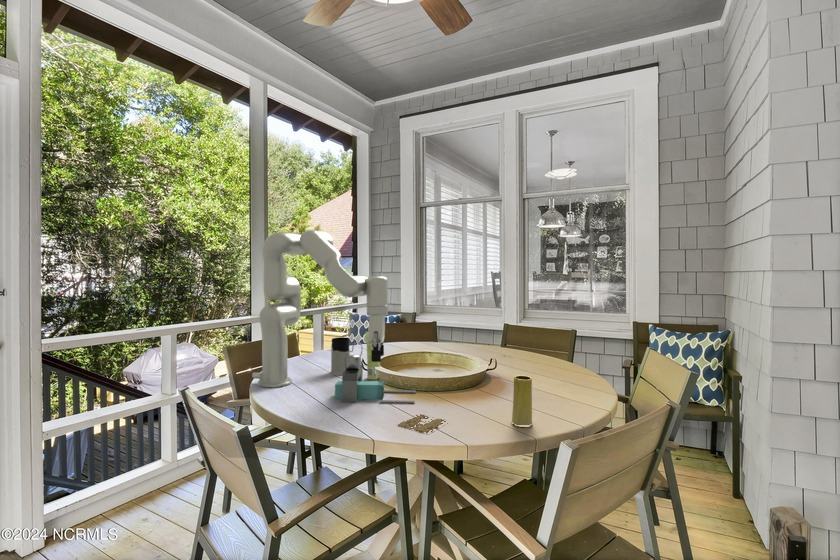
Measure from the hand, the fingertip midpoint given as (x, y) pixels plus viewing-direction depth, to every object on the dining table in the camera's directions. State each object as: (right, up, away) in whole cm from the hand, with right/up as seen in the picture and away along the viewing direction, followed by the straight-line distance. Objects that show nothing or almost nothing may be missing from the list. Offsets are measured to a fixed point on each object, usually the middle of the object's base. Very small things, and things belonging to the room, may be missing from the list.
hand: (377, 358), depth 155 cm
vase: (+46, -16, -24) cm, 54 cm away
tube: (-4, -13, +26) cm, 29 cm away
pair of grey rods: (+7, -14, +1) cm, 16 cm away
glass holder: (-17, -13, +34) cm, 40 cm away
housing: (-9, -14, +1) cm, 17 cm away
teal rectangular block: (-7, -14, +1) cm, 15 cm away
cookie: (+16, -16, -25) cm, 33 cm away
